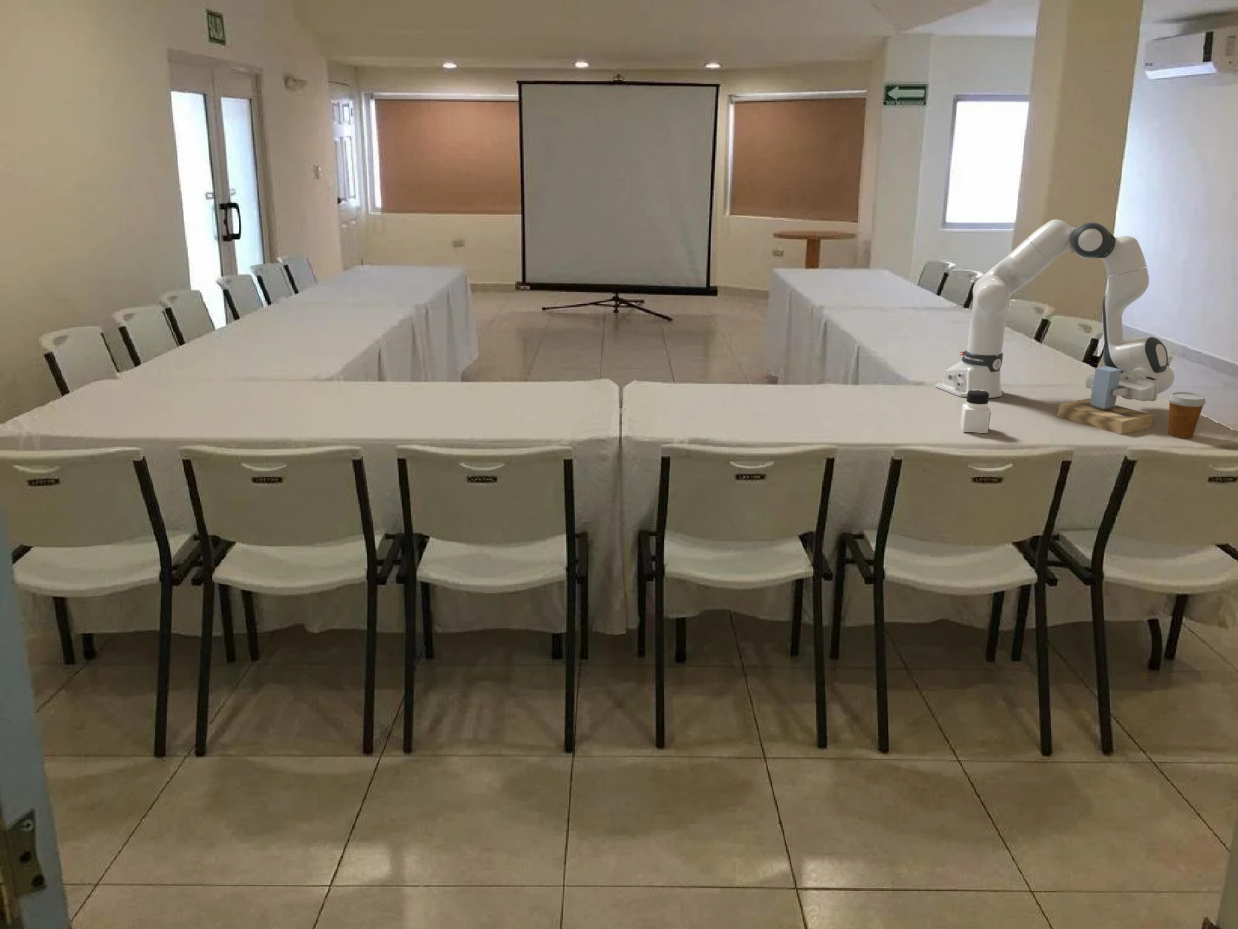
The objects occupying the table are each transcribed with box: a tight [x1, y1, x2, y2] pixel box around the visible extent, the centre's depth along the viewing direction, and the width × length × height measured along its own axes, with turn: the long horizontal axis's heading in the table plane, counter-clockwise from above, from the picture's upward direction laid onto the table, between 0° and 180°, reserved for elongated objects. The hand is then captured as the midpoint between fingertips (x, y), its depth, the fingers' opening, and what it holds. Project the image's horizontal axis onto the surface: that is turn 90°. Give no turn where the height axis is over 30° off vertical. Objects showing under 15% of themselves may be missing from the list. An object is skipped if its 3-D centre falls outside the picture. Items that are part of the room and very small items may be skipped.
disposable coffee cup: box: [1167, 391, 1207, 439], centre depth 293 cm, size 10×10×12 cm
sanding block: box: [1089, 365, 1121, 410], centre depth 306 cm, size 5×5×12 cm
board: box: [1056, 397, 1154, 435], centre depth 307 cm, size 22×14×4 cm, turn 29°
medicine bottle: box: [959, 390, 991, 434], centre depth 298 cm, size 7×7×12 cm
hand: (1102, 390), depth 306 cm, fingers closed on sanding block, 5 cm apart
